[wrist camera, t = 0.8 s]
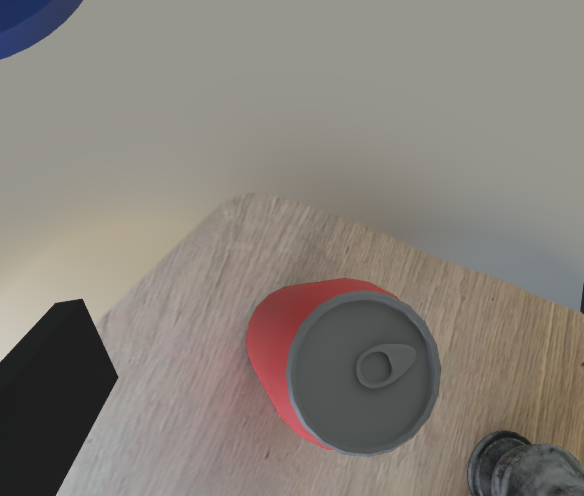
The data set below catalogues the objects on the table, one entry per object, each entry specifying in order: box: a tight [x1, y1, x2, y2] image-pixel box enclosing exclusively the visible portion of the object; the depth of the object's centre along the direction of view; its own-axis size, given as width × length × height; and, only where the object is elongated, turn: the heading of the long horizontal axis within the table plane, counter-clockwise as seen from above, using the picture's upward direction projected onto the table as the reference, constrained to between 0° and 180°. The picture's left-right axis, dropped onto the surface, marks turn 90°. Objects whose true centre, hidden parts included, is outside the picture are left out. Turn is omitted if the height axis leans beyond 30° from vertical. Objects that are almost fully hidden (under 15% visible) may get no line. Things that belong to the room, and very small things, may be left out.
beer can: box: [246, 278, 441, 457], centre depth 20 cm, size 7×7×12 cm
